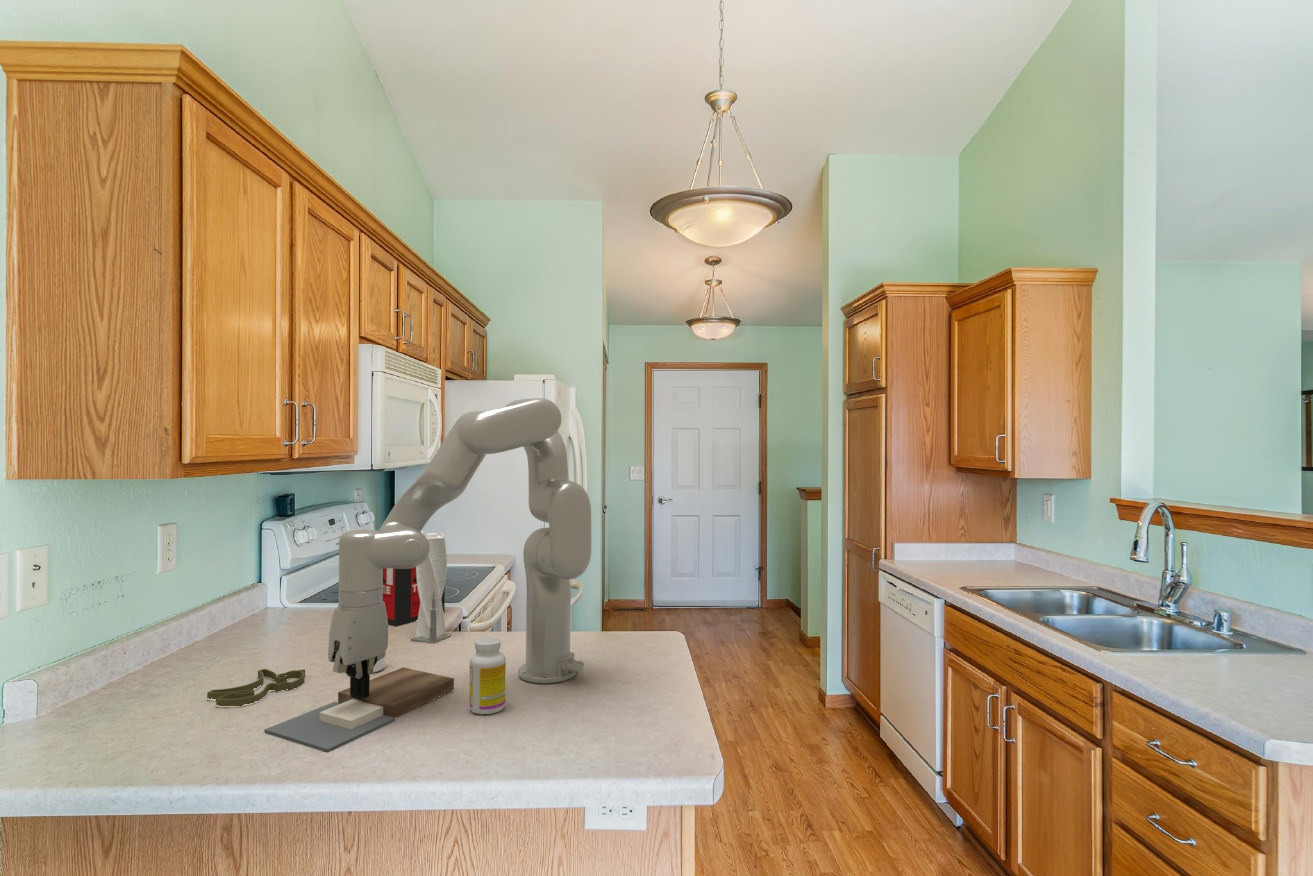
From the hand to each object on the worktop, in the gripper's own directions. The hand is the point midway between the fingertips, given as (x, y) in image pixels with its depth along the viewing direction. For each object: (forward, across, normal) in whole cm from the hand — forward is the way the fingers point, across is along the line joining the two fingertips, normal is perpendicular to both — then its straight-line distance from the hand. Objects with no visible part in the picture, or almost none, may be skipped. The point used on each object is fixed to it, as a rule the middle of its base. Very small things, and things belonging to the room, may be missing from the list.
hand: (359, 696), depth 126 cm
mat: (+3, +6, 0) cm, 7 cm away
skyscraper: (+3, -42, -24) cm, 48 cm away
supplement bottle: (+3, -13, +19) cm, 23 cm away
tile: (+3, +3, +1) cm, 4 cm away
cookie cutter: (+4, +1, -27) cm, 27 cm away
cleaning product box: (+4, -54, -43) cm, 69 cm away
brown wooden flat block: (+3, -9, 0) cm, 10 cm away
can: (+3, -18, -18) cm, 26 cm away
